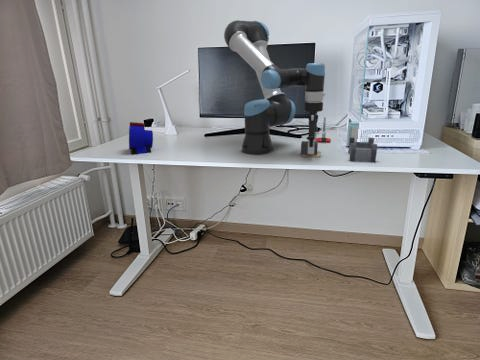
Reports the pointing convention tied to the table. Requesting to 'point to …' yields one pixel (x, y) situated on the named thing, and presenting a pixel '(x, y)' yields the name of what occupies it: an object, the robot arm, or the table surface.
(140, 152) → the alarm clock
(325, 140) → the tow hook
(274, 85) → the robot arm
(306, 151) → the plug
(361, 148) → the housing
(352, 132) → the can
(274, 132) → the table surface
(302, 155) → the cork mat
